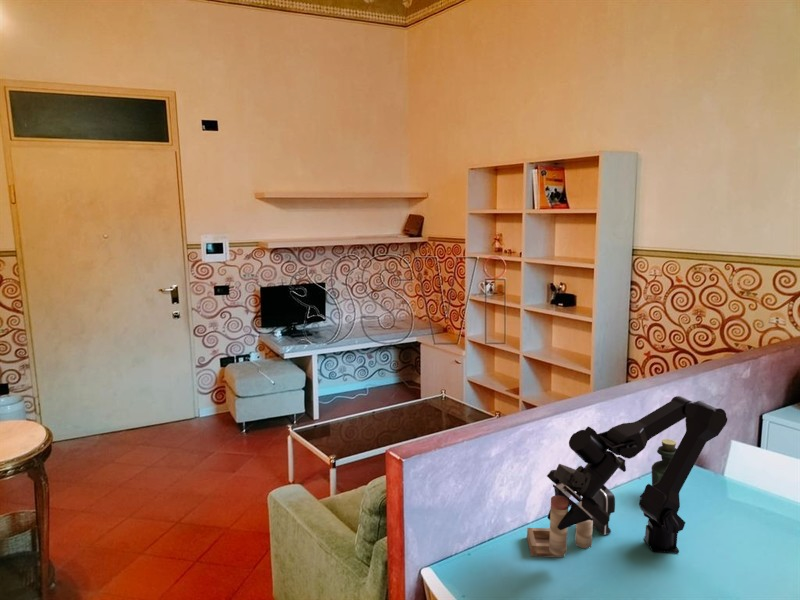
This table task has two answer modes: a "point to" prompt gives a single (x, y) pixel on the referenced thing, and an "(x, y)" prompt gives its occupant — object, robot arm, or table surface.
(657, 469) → the potion bottle
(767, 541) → the table surface
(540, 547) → the light brown square frame
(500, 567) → the table surface
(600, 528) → the battery charger
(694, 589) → the table surface
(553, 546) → the long pin
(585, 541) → the short pin
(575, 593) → the table surface
